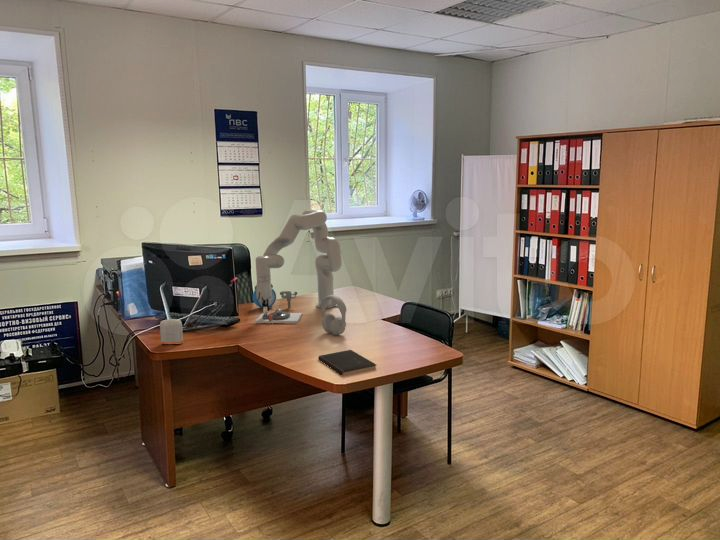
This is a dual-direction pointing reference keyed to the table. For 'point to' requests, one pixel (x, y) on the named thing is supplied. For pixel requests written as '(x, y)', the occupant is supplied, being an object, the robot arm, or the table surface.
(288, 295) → the mechanical component
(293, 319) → the base plate
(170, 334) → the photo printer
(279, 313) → the flange
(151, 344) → the table surface
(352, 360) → the hardcover book
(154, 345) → the table surface
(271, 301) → the alarm clock
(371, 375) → the table surface
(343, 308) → the headphones
